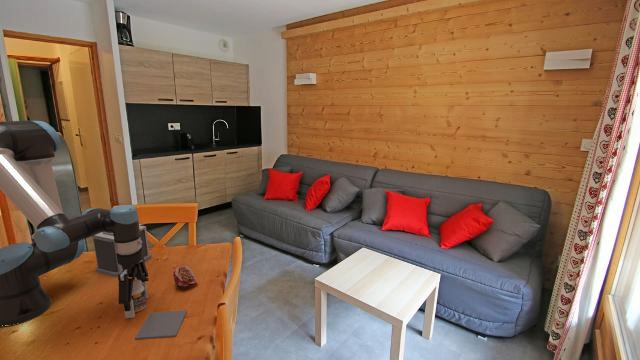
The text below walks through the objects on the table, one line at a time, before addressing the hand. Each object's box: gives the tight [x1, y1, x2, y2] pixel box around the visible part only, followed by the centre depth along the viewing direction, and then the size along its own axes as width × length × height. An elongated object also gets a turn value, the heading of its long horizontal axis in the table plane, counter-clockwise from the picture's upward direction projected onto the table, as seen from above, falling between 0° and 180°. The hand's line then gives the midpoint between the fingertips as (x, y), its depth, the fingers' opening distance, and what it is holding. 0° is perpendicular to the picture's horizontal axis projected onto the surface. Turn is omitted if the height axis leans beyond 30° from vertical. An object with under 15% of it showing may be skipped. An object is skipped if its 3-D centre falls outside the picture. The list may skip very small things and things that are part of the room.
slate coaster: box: [134, 309, 188, 341], centre depth 100 cm, size 12×12×1 cm
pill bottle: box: [131, 279, 147, 313], centre depth 107 cm, size 6×6×10 cm
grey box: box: [92, 224, 153, 278], centre depth 136 cm, size 18×13×18 cm
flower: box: [172, 264, 198, 289], centre depth 122 cm, size 10×9×8 cm
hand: (137, 307), depth 109 cm, fingers open, 10 cm apart
